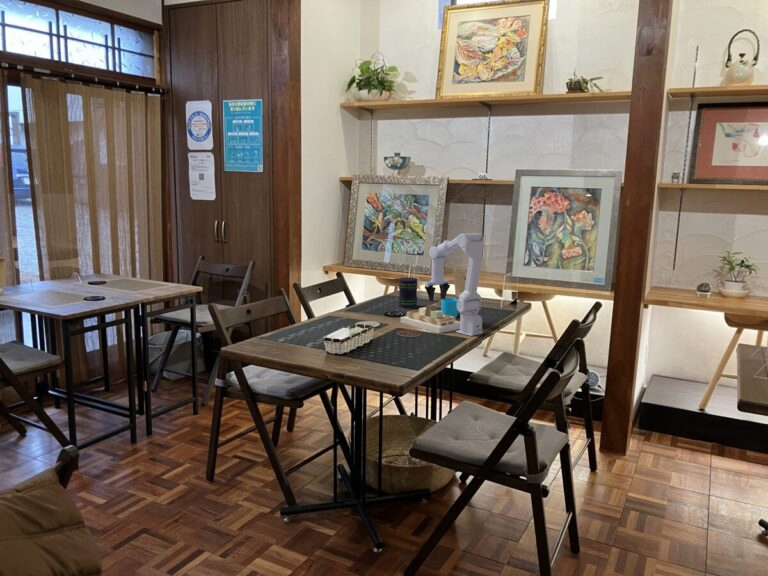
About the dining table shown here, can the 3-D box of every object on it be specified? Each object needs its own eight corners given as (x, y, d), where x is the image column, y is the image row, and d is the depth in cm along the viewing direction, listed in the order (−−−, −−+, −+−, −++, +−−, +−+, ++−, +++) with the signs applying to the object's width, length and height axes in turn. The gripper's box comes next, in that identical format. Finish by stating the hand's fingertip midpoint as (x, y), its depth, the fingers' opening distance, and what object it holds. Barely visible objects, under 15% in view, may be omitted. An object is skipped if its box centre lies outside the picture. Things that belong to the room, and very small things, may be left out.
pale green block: (442, 317, 285) (442, 311, 284) (436, 318, 282) (436, 312, 282) (436, 316, 288) (436, 309, 287) (430, 317, 285) (430, 311, 285)
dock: (464, 327, 285) (464, 322, 284) (439, 333, 275) (439, 327, 274) (425, 317, 304) (425, 312, 304) (400, 322, 294) (400, 316, 294)
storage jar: (394, 306, 331) (394, 278, 328) (407, 304, 337) (408, 276, 334) (407, 309, 323) (408, 281, 321) (421, 306, 330) (421, 279, 327)
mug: (452, 318, 304) (453, 301, 303) (438, 316, 309) (438, 300, 307) (463, 313, 314) (464, 298, 313) (449, 311, 319) (449, 296, 317)
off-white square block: (431, 314, 290) (431, 308, 290) (424, 316, 288) (425, 309, 287) (425, 313, 293) (425, 307, 293) (419, 314, 291) (419, 308, 290)
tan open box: (455, 323, 283) (455, 308, 282) (439, 326, 277) (439, 310, 276) (422, 314, 300) (422, 300, 299) (406, 317, 293) (406, 302, 292)
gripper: (442, 269, 300) (441, 297, 303) (420, 272, 291) (420, 300, 294) (453, 271, 295) (452, 299, 297) (431, 274, 286) (430, 302, 288)
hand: (437, 300), depth 295 cm, fingers open, 7 cm apart
